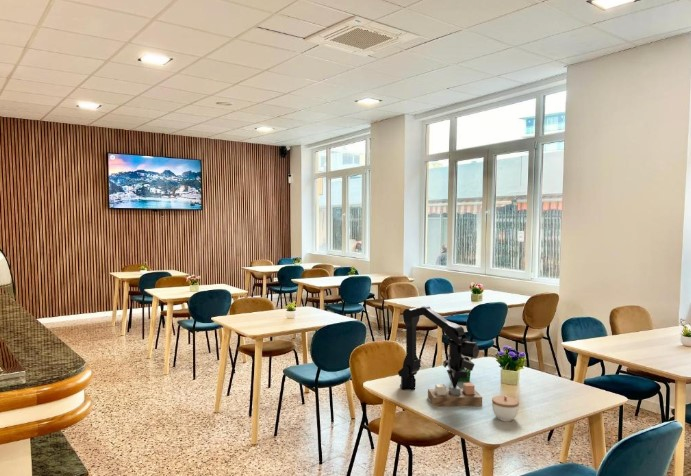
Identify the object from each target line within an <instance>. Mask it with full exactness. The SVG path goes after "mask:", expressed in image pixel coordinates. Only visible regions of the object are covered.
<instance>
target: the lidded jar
mask: <svg viewBox="0 0 691 476" xmlns="http://www.w3.org/2000/svg"><path fill="white" fill-rule="evenodd" d="M491 402H492V403H491V406H492V412H493V414H494V415H495V416H496V417H497V419H498V420H500V421H503V422H512V421H513V420H514V419H515V418H516V417H517V415H518V412H519V404H520V402H519V400H518V399H516V398H515V397H512V396H508V395H495V396H493V397H492V399H491Z"/></svg>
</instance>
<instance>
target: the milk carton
mask: <svg viewBox="0 0 691 476" xmlns="http://www.w3.org/2000/svg"><path fill="white" fill-rule="evenodd" d="M462 357H463V358H464V357H467V356H463V355H462ZM468 358H469V361H471V362H472V358H471V357H468ZM464 370H465V371H466V372H467V373H468V378H459V380H458V382H470V381H471V380H470V379H471V373H472V372H471V370H470V369H467V368H464Z"/></svg>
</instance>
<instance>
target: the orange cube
mask: <svg viewBox="0 0 691 476" xmlns="http://www.w3.org/2000/svg"><path fill="white" fill-rule="evenodd" d="M462 389H463V392H464V393H465V394H466V395H473V394H474V389H475V385H474V384H473V383H472V382H463V383H462Z"/></svg>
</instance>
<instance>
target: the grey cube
mask: <svg viewBox="0 0 691 476" xmlns="http://www.w3.org/2000/svg"><path fill="white" fill-rule="evenodd" d="M448 389H449V393H450V395H460V389H461V388H460V387H459V386H458V385H457V386H456V388H454V387H453V385H449V386H448Z"/></svg>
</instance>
